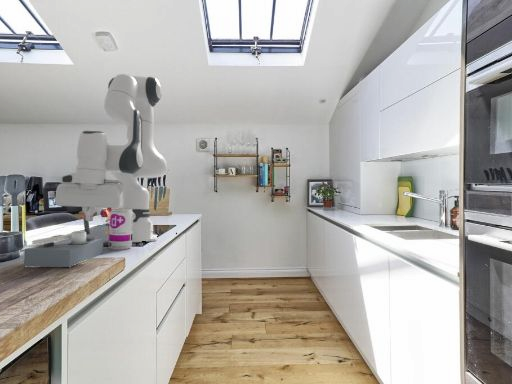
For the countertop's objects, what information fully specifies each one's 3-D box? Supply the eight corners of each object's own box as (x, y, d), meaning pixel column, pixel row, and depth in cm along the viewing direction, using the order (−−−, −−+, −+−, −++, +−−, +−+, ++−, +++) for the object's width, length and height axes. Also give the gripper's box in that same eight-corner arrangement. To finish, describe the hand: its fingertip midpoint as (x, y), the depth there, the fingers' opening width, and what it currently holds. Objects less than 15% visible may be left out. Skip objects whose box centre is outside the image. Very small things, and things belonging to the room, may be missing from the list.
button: (75, 242, 99) (75, 230, 99) (88, 242, 99) (88, 231, 99) (68, 244, 95) (69, 232, 95) (82, 244, 95) (82, 232, 96)
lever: (85, 234, 104) (83, 214, 104) (92, 233, 104) (89, 213, 104) (83, 234, 102) (80, 214, 102) (89, 234, 102) (86, 213, 102)
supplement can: (123, 250, 115) (125, 209, 115) (103, 249, 116) (105, 208, 117) (136, 247, 123) (137, 209, 123) (117, 245, 124) (119, 208, 125)
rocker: (41, 242, 93) (40, 238, 93) (65, 238, 93) (64, 234, 93) (32, 244, 89) (31, 240, 89) (57, 239, 89) (57, 235, 89)
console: (66, 252, 108) (67, 235, 108) (102, 253, 108) (103, 236, 108) (23, 267, 86) (24, 245, 86) (69, 268, 86) (70, 246, 87)
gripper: (126, 180, 107) (124, 221, 107) (64, 178, 105) (61, 219, 105) (120, 179, 101) (118, 222, 101) (53, 176, 99) (51, 220, 99)
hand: (88, 220), depth 103 cm, fingers closed, pressing on lever
